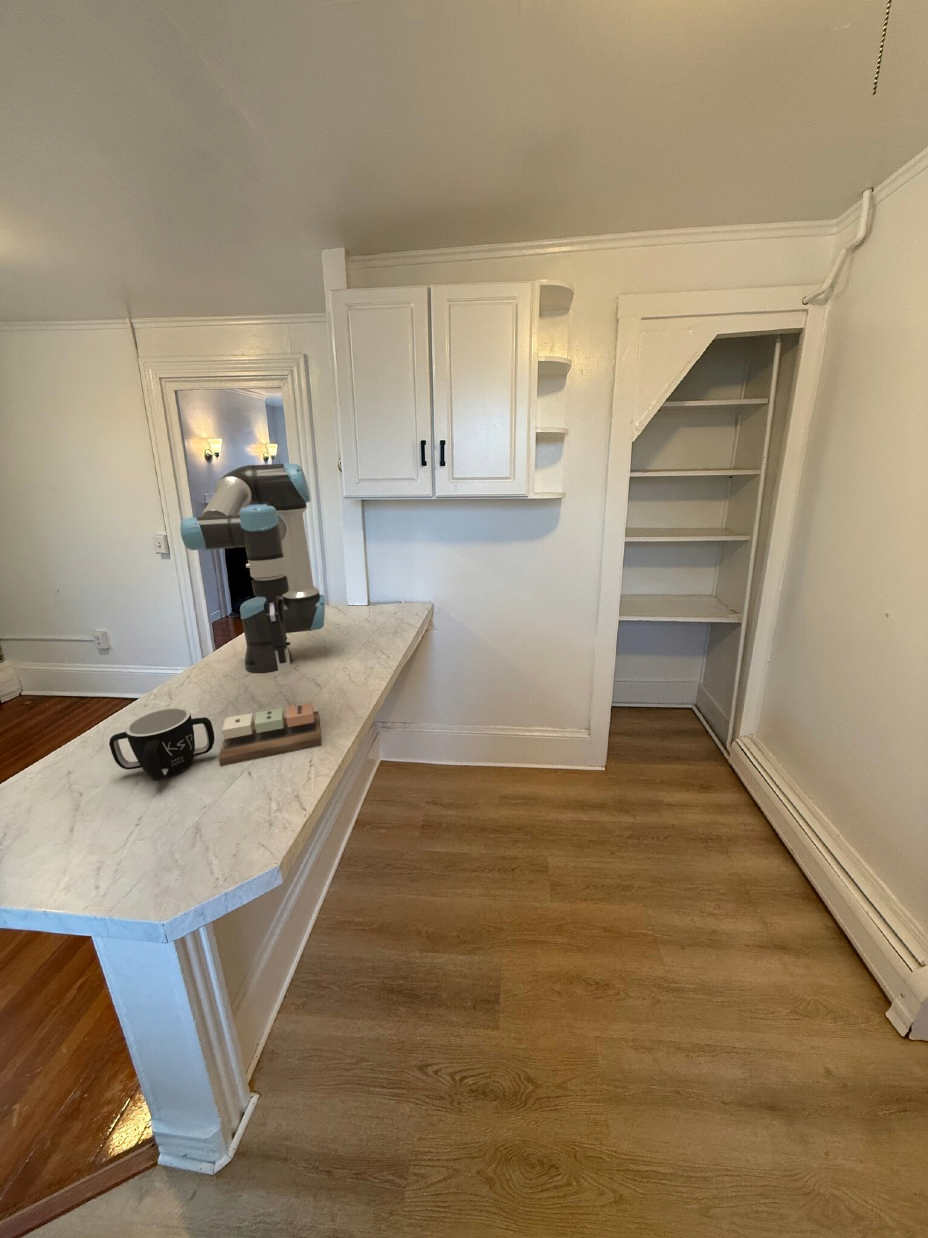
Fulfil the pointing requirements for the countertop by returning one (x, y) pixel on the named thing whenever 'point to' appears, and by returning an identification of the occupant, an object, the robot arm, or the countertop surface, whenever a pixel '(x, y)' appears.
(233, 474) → the robot arm
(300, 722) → the key
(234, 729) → the key
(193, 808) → the countertop surface
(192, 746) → the mug
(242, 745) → the board
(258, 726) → the key
